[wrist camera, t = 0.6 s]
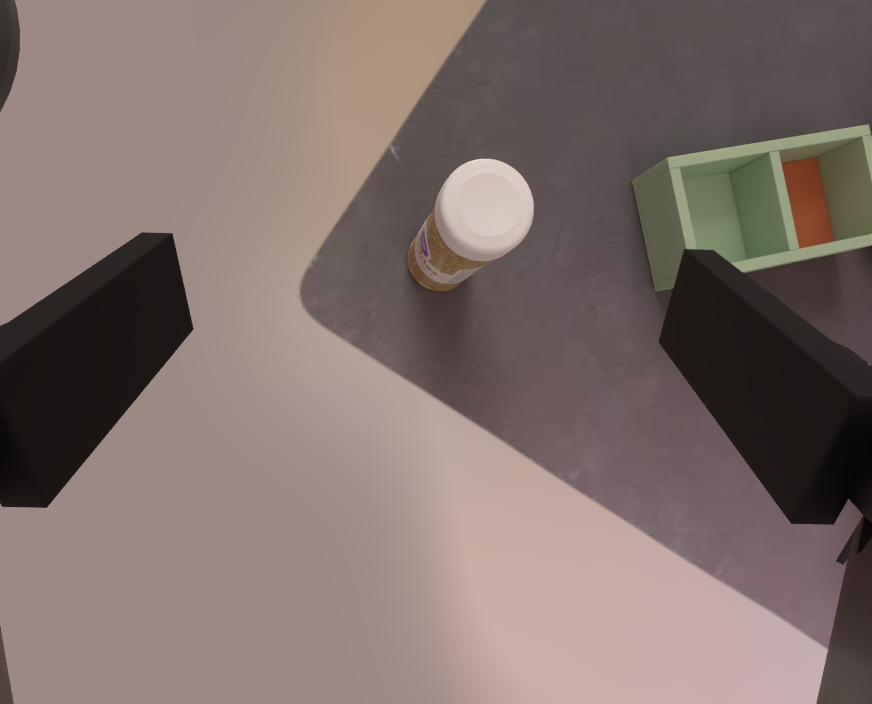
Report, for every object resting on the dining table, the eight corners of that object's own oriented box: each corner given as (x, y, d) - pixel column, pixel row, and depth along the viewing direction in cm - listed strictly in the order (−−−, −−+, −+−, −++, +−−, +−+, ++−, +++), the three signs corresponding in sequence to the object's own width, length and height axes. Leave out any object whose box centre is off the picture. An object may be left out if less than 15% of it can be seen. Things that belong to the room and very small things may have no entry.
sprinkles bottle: (396, 242, 38) (425, 174, 24) (455, 219, 38) (514, 141, 25) (421, 303, 38) (464, 268, 25) (480, 279, 39) (551, 233, 25)
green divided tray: (631, 180, 41) (667, 157, 36) (814, 149, 44) (869, 123, 39) (654, 292, 41) (693, 282, 36) (836, 253, 44) (893, 240, 39)
